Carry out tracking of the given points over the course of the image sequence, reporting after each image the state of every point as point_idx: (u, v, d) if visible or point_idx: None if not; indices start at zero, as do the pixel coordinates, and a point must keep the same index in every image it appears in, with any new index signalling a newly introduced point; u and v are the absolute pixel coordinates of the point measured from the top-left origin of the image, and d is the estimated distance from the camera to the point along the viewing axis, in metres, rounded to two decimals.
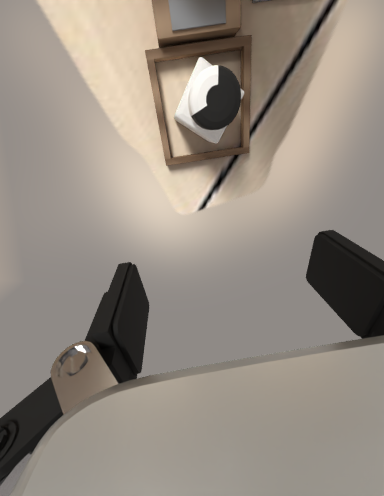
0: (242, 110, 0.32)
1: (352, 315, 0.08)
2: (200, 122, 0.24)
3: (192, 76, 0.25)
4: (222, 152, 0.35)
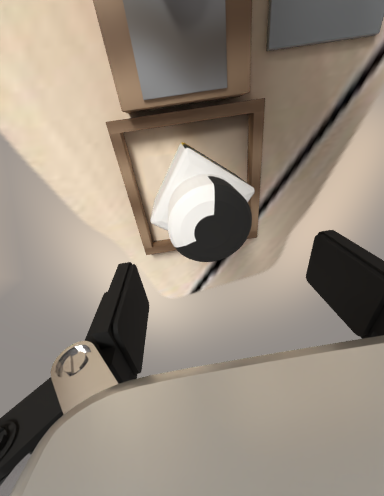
0: None
1: (353, 315, 0.08)
2: (186, 256, 0.15)
3: (174, 174, 0.16)
4: None
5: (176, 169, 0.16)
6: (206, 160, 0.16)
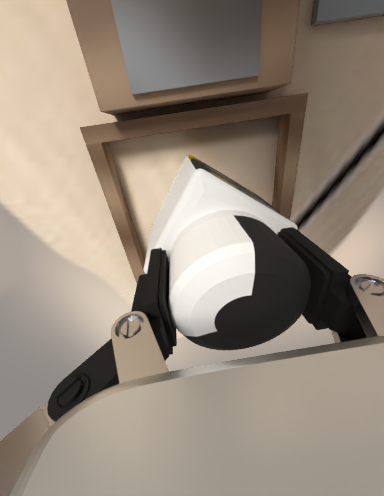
0: None
1: None
2: (198, 343, 0.09)
3: (179, 208, 0.10)
4: None
5: (182, 201, 0.10)
6: (229, 187, 0.10)
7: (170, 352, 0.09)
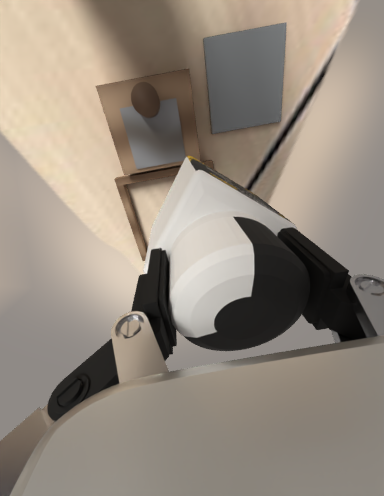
0: None
1: None
2: (198, 344, 0.09)
3: (179, 209, 0.10)
4: None
5: (182, 202, 0.10)
6: (228, 188, 0.10)
7: (170, 352, 0.09)
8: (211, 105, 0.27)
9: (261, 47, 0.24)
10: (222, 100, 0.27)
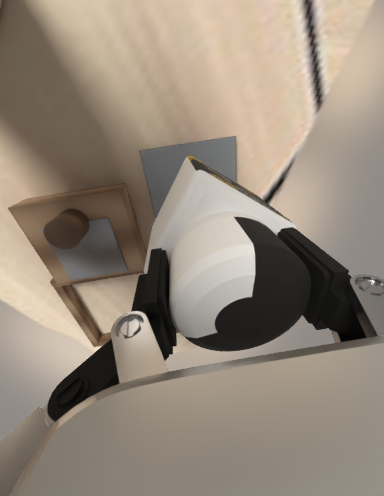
0: None
1: None
2: (198, 345, 0.09)
3: (179, 209, 0.10)
4: None
5: (182, 202, 0.10)
6: (229, 188, 0.10)
7: (170, 353, 0.09)
8: (156, 211, 0.23)
9: (208, 159, 0.21)
10: None
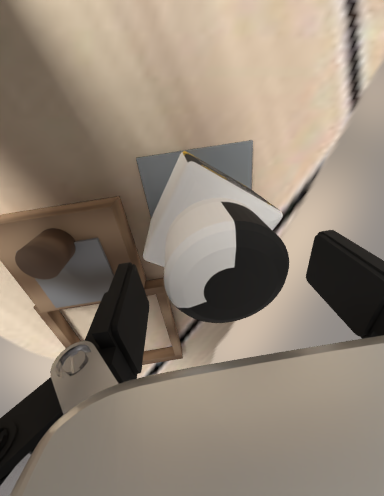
0: None
1: (352, 315, 0.08)
2: (191, 316, 0.10)
3: (173, 197, 0.11)
4: (151, 360, 0.30)
5: (176, 191, 0.11)
6: (217, 177, 0.11)
7: None
8: None
9: (218, 168, 0.17)
10: None
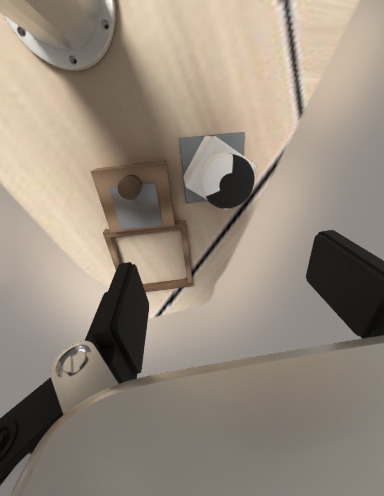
0: None
1: (352, 315, 0.08)
2: (212, 202, 0.23)
3: (204, 153, 0.25)
4: (170, 286, 0.43)
5: (206, 149, 0.24)
6: (225, 144, 0.24)
7: None
8: None
9: None
10: None
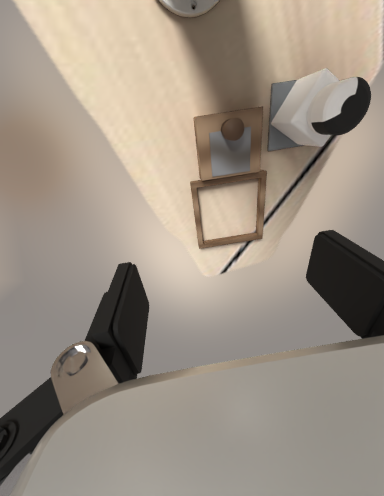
0: (258, 212, 0.43)
1: (353, 315, 0.08)
2: (328, 128, 0.26)
3: (314, 86, 0.27)
4: (242, 239, 0.46)
5: (316, 82, 0.27)
6: (334, 76, 0.27)
7: None
8: (270, 130, 0.35)
9: None
10: None
